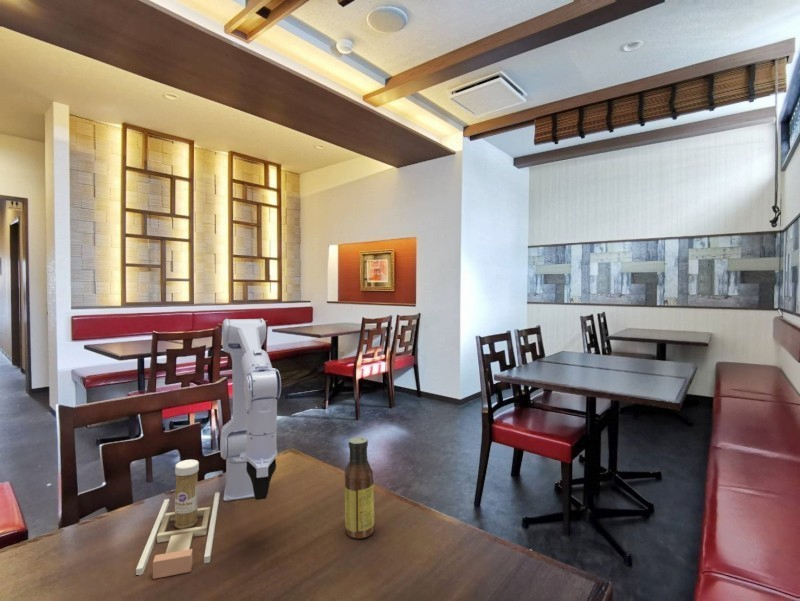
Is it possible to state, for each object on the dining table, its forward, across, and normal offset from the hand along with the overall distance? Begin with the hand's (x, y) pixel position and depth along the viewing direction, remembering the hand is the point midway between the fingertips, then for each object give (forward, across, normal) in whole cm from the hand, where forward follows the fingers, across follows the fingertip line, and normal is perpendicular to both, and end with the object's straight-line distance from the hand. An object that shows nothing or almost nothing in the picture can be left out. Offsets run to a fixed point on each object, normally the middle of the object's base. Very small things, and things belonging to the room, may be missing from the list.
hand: (260, 497), depth 83 cm
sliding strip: (+9, -5, -15) cm, 18 cm away
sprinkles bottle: (+10, -12, -15) cm, 22 cm away
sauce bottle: (+10, +2, +20) cm, 22 cm away
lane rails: (+9, -10, -15) cm, 20 cm away
